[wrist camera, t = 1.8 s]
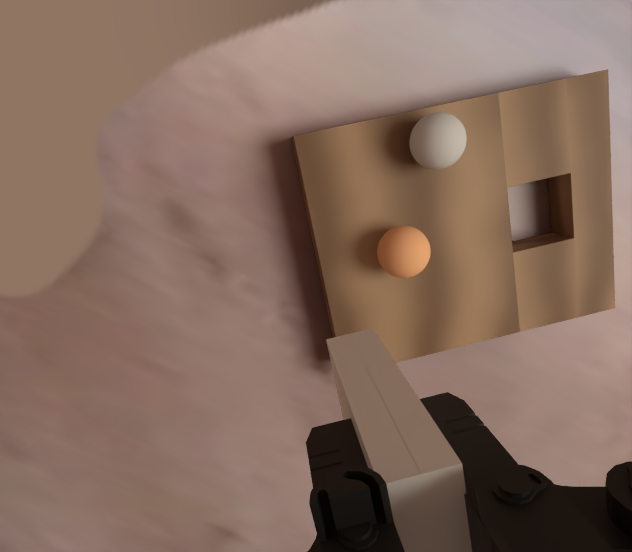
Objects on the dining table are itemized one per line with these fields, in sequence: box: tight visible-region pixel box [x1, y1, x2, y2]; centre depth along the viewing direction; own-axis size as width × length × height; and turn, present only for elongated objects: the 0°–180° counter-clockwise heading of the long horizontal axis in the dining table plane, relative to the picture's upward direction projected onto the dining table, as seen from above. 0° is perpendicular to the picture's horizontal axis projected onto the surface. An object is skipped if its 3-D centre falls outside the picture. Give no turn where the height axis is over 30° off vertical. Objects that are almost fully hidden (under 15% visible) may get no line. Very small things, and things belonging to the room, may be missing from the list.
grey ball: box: [409, 112, 467, 170], centre depth 26 cm, size 3×3×3 cm
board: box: [291, 70, 615, 363], centre depth 31 cm, size 20×16×2 cm
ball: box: [377, 226, 431, 278], centre depth 28 cm, size 3×3×3 cm
